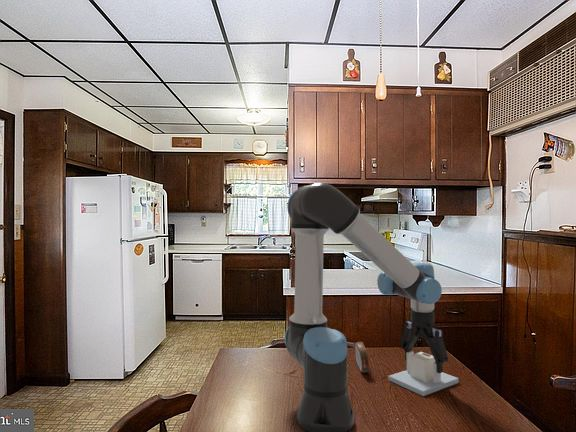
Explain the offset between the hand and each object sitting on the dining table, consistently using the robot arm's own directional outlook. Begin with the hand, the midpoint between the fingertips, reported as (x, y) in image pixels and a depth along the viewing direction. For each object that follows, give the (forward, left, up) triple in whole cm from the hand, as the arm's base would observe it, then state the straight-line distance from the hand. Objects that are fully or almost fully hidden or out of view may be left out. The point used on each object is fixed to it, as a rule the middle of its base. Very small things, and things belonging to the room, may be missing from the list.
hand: (423, 376), depth 126 cm
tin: (-9, +20, -2) cm, 22 cm away
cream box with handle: (0, 0, 0) cm, 0 cm away
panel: (0, 0, -2) cm, 2 cm away
